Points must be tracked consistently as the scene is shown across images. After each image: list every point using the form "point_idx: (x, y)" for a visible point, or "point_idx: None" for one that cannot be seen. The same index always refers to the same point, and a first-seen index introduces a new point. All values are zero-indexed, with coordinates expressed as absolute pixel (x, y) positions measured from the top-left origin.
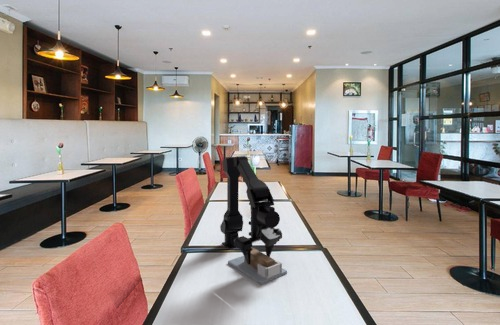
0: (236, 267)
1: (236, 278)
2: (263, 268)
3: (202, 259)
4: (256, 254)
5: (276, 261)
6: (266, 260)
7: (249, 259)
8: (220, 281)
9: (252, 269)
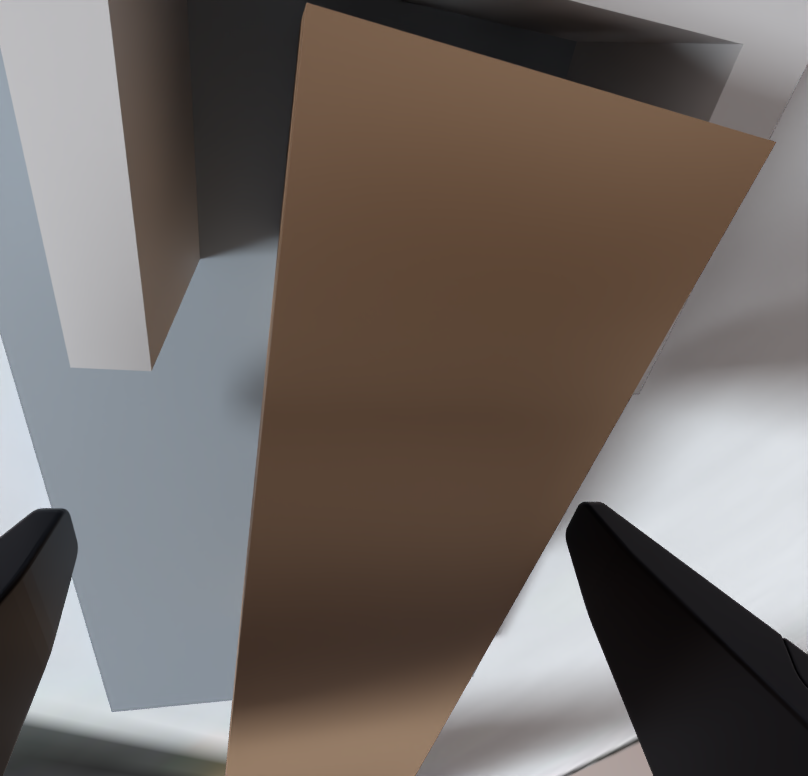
0: None
1: (683, 418)
2: None
3: (522, 739)
4: (421, 666)
5: (74, 106)
6: (606, 278)
7: (690, 584)
8: (797, 465)
9: None
